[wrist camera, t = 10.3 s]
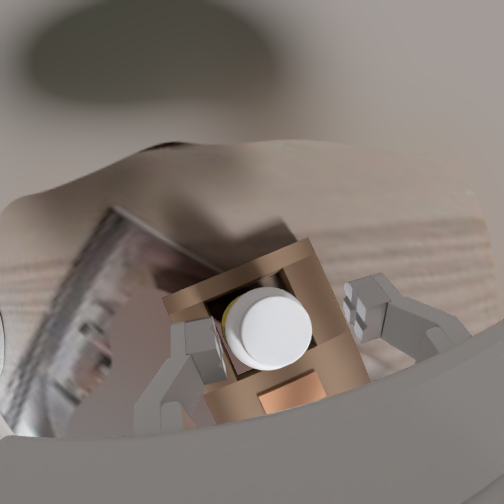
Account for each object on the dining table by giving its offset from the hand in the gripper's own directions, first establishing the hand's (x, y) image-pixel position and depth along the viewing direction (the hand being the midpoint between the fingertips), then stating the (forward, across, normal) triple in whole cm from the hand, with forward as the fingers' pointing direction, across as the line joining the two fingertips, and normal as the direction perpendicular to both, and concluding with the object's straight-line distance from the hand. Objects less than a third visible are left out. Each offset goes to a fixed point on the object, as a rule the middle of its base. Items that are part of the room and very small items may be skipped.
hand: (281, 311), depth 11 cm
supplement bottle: (+11, +1, +12) cm, 16 cm away
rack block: (+9, -1, +15) cm, 17 cm away
